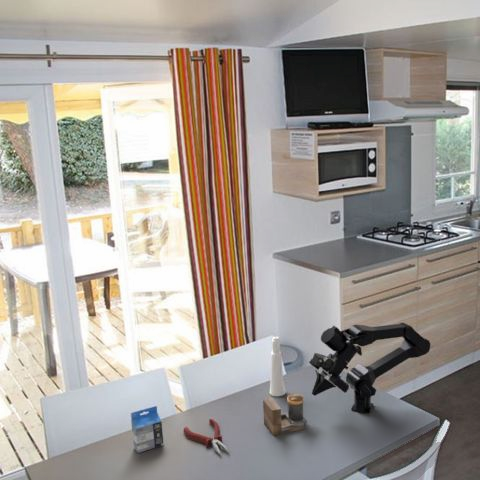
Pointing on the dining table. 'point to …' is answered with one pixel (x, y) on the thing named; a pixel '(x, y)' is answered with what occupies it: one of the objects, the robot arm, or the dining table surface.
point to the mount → (277, 419)
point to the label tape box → (146, 429)
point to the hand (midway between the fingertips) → (313, 394)
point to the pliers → (208, 438)
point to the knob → (295, 409)
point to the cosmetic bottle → (276, 370)
